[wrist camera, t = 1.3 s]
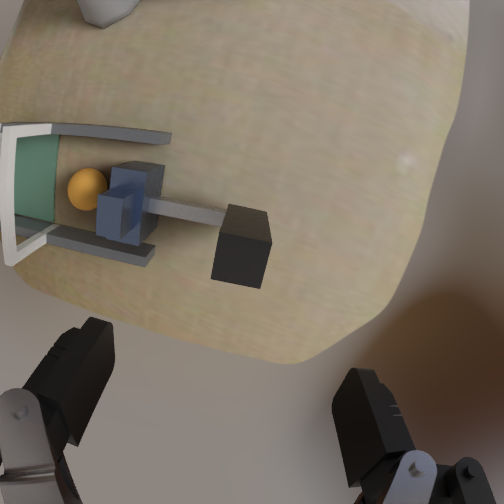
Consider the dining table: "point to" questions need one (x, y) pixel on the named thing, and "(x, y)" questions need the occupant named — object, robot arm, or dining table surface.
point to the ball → (86, 188)
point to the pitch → (53, 190)
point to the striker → (151, 204)
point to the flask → (106, 10)
